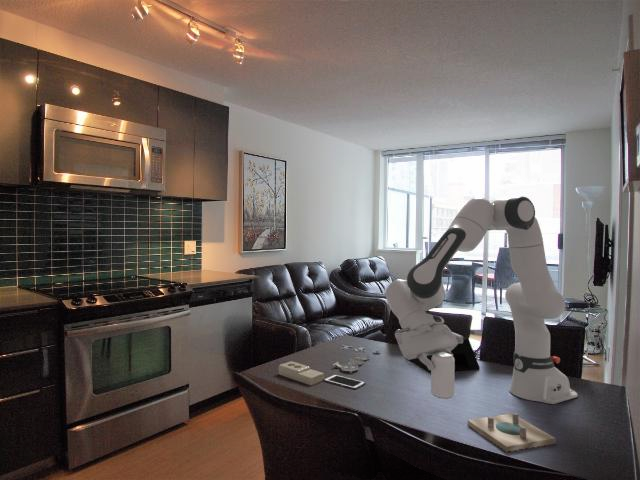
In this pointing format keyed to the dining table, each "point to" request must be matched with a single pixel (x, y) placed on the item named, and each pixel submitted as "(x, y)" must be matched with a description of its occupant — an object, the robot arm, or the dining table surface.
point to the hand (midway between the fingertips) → (442, 366)
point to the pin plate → (511, 432)
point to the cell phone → (344, 381)
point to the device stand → (457, 356)
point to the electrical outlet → (300, 373)
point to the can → (443, 374)
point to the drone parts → (357, 362)
